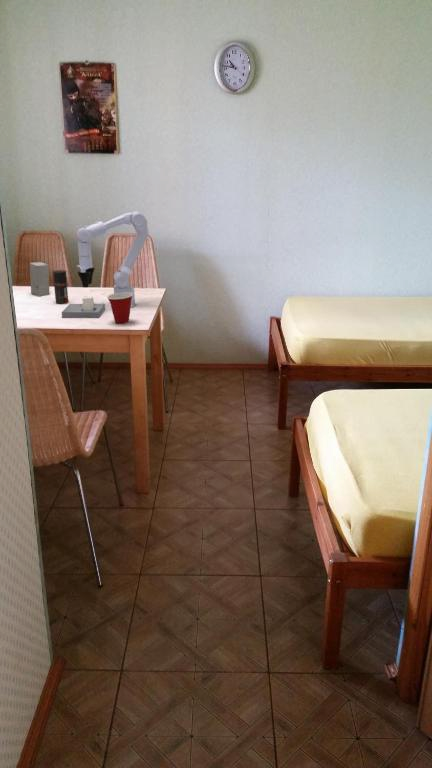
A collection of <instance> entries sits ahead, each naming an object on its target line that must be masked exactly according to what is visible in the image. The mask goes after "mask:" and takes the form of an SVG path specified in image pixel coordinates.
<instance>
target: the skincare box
mask: <svg viewBox="0 0 432 768" xmlns="http://www.w3.org/2000/svg"><path fill="white" fill-rule="evenodd" d="M49 271H50V268H49V264H47V263H45V262H41V261H39V262H38V261H37V262H30V263H29V274H30V275H29V276H30V278H29V279H30V294H31V295H33V296H37V297H44V296H50V295H51V294H50V272H49Z"/></svg>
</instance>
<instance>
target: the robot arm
mask: <svg viewBox="0 0 432 768" xmlns="http://www.w3.org/2000/svg"><path fill="white" fill-rule="evenodd" d="M124 224H125V225H132V226H133V227H134V229H135V234H136V235H135V237H134V239H133V242H132V243H131V245H130V247H129V250H128V252H127V254H126V256H125V258H124V260H123V262H122V264H121V265H120V267H118V270H117V271H116V272H115V273H114V274H113V278H112V279H113V282H114V283H115V284H114V285H113V294H115V293H124V292H127V293H132V294H133V295H132V299H131V307H130V308H134V306H135V304H136V301H135V300H136V298H135V297H136V296H135V287H134V286H130V285H129V283H130V276H131V274H132V270H133V267H134V266H135V264H136V261H138V260H137V259H138V258H139V256H140V254H141V252H142V249H143V247H144V245H145V243H146V240H147V239H148V237H149V229H148V221H147V219H146V216H145V214H143V213H142V212H141V211H139V210H133V211H131V212H126V213H124V214H121V215H118V216H117V217H114V218H113V219H110V220H108V221H106V222H103V221H101V220H100V221H98V220H96V221H94V223H93V224H90V225H85V226H84V227H81V228H79V229H78V230H77V233H76V237H77V239H78V240H77V249H78V252H77V253H78V260H79V261H78V262H79V264H77V265H76V267H77V268H79V269H80V271H77V276H78V277H79V278H80V281H81V284H82V288H89V285H92V283H93V277H94V275H93V274H94V272H95V270H96V269H95V267H94V266H93V256H92V245H91V239H95V238H97V237H100V236H103V235H105V234H107V231H108V230H110V229H113V228H115V227H118V226H121V225H124Z"/></svg>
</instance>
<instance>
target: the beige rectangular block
mask: <svg viewBox="0 0 432 768" xmlns="http://www.w3.org/2000/svg"><path fill="white" fill-rule="evenodd" d="M81 299H82V304H83V311H94V304H95V302H94V296H89V295H88V296H83V297H82V298H81Z"/></svg>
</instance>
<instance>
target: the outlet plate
mask: <svg viewBox="0 0 432 768" xmlns="http://www.w3.org/2000/svg"><path fill="white" fill-rule="evenodd" d="M105 310H106V304H105V303H94V311H83V303H68V305H67V306H66V307H65V308H64V309H63V310H62V311H61V319H99V318H100V317H101V315H103V312H104V311H105Z"/></svg>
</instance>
